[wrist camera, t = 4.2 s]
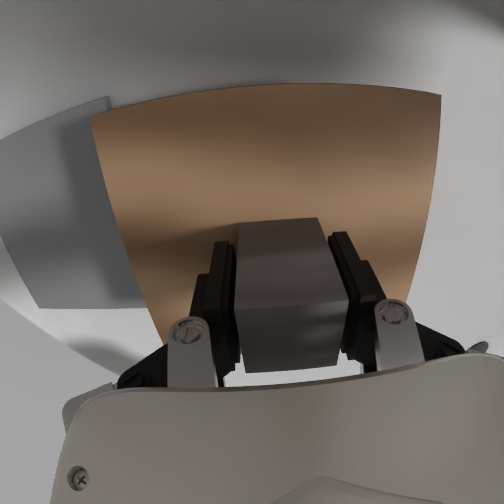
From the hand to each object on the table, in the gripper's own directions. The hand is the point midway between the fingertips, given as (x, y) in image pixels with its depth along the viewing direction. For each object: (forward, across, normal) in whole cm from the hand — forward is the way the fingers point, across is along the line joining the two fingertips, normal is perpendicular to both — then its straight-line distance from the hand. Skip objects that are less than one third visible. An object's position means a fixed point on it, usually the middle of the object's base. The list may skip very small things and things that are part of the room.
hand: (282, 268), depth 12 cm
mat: (+7, +16, 0) cm, 18 cm away
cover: (+2, 0, 0) cm, 2 cm away
